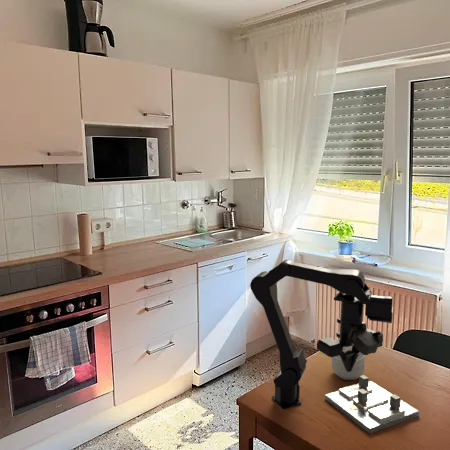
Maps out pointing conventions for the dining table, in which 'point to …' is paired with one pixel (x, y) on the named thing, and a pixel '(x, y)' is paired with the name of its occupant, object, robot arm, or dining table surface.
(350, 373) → the teacup
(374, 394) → the breaker panel
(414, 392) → the dining table surface
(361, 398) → the handle
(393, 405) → the right handle
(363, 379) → the left handle
